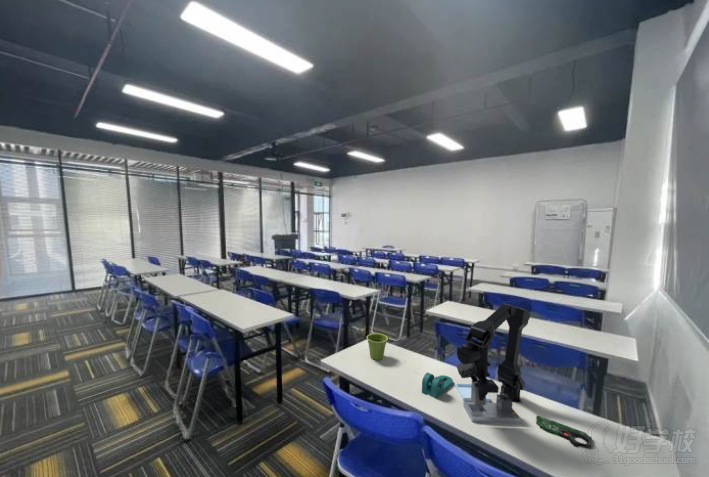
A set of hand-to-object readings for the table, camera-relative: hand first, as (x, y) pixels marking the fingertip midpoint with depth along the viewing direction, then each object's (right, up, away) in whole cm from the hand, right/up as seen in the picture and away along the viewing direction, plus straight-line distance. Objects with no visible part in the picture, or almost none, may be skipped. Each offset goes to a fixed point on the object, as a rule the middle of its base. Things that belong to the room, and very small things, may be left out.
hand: (478, 396), depth 109 cm
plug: (0, -2, 0) cm, 2 cm away
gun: (+26, -9, -8) cm, 29 cm away
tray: (+3, -7, +14) cm, 16 cm away
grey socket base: (+5, -8, 0) cm, 9 cm away
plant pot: (-36, -5, +47) cm, 60 cm away
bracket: (-10, -7, +19) cm, 22 cm away
